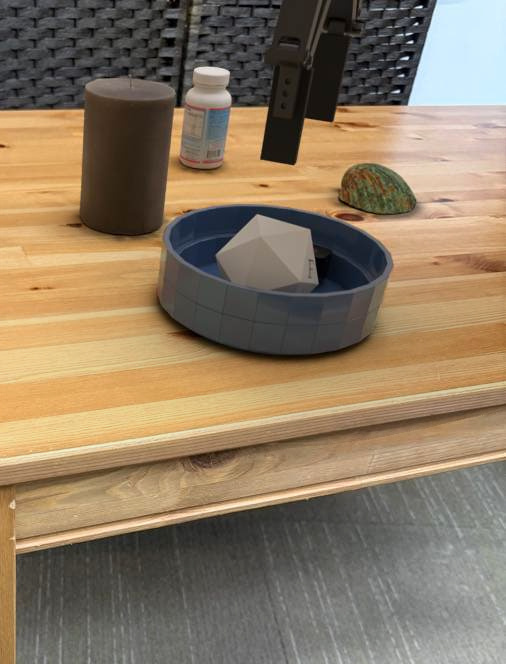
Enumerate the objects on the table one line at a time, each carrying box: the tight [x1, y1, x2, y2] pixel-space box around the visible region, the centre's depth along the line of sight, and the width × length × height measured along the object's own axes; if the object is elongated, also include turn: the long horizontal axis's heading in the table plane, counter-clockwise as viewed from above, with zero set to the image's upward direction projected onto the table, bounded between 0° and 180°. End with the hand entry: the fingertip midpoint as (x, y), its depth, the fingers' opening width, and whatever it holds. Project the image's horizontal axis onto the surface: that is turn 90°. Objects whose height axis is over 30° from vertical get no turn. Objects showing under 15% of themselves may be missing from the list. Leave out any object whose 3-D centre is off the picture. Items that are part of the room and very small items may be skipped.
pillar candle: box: [79, 74, 176, 236], centre depth 89 cm, size 10×10×15 cm
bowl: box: [156, 203, 395, 356], centre depth 78 cm, size 21×21×6 cm
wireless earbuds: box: [313, 244, 333, 285], centre depth 82 cm, size 5×7×3 cm, turn 53°
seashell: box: [338, 162, 417, 215], centre depth 103 cm, size 10×4×10 cm
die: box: [216, 214, 319, 293], centre depth 75 cm, size 8×9×10 cm
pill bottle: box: [179, 66, 232, 170], centre depth 108 cm, size 6×6×11 cm
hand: (299, 139), depth 68 cm, fingers open, 13 cm apart
